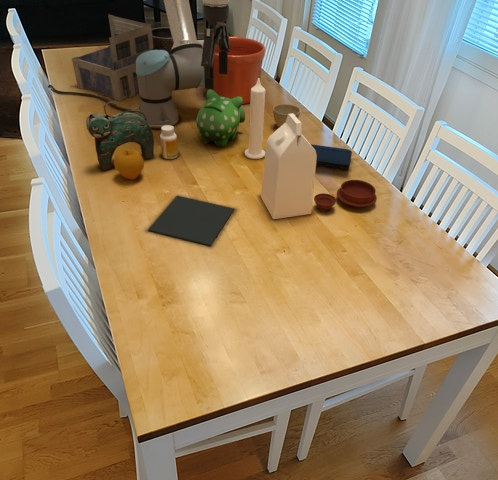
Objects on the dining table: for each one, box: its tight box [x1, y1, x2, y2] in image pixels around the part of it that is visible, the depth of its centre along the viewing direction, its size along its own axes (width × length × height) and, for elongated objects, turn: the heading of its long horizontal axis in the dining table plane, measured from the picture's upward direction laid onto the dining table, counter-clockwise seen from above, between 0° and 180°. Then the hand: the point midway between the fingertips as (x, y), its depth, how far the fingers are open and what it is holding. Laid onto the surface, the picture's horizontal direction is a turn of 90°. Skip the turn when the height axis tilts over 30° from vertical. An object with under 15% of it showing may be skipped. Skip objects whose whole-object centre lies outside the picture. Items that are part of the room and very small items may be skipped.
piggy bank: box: [195, 90, 246, 148], centre depth 158 cm, size 14×18×15 cm
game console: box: [310, 143, 353, 171], centre depth 149 cm, size 16×13×9 cm
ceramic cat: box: [85, 101, 155, 171], centre depth 142 cm, size 20×6×20 cm, turn 122°
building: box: [71, 13, 154, 102], centre depth 187 cm, size 23×24×23 cm
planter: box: [151, 26, 173, 55], centre depth 205 cm, size 17×17×16 cm
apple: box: [113, 148, 145, 181], centre depth 139 cm, size 9×9×9 cm
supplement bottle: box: [159, 125, 179, 160], centre depth 149 cm, size 5×5×10 cm
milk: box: [260, 113, 317, 220], centre depth 125 cm, size 12×12×26 cm
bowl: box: [272, 103, 301, 129], centre depth 169 cm, size 10×10×7 cm
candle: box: [244, 78, 266, 160], centre depth 147 cm, size 7×7×25 cm
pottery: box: [313, 179, 378, 212], centre depth 134 cm, size 12×20×4 cm, turn 113°
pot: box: [201, 36, 266, 105], centre depth 186 cm, size 25×25×19 cm
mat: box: [147, 195, 235, 247], centre depth 126 cm, size 18×18×1 cm
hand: (216, 81), depth 144 cm, fingers open, 13 cm apart
